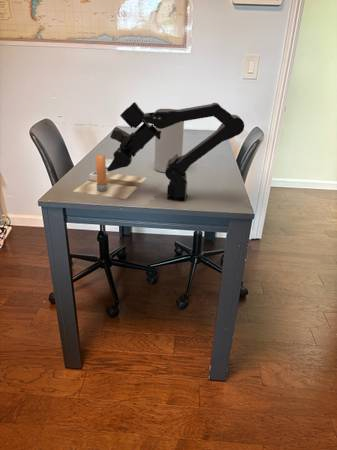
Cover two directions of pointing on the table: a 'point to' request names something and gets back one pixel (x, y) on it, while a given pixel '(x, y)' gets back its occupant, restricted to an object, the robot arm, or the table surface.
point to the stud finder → (95, 176)
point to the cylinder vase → (168, 145)
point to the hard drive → (108, 162)
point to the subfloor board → (113, 186)
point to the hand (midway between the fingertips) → (110, 166)
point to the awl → (101, 173)
